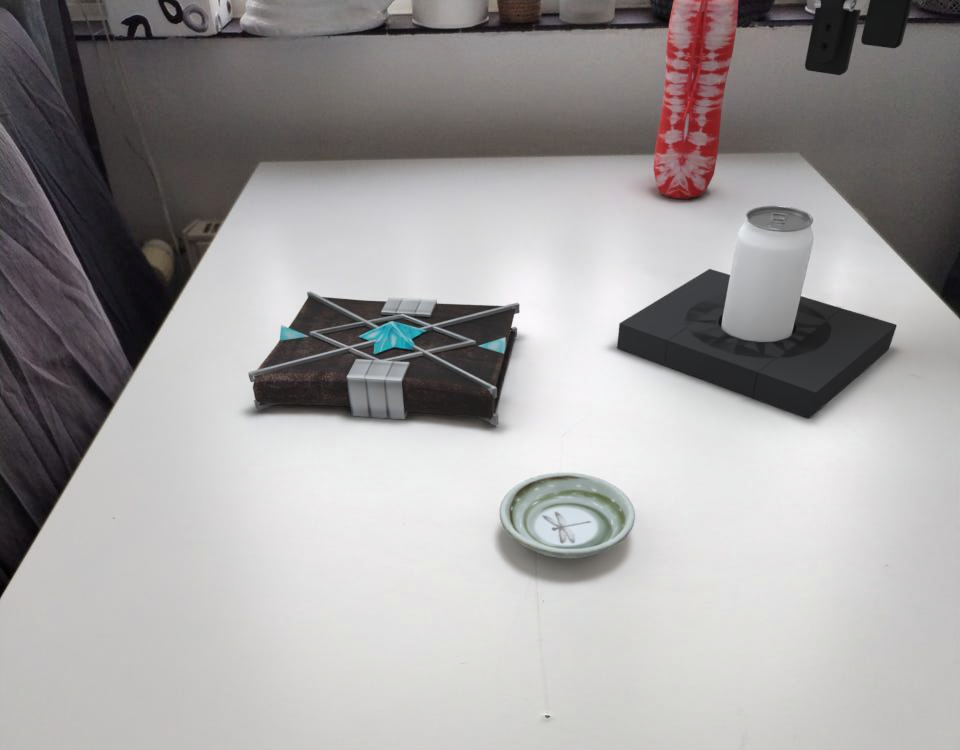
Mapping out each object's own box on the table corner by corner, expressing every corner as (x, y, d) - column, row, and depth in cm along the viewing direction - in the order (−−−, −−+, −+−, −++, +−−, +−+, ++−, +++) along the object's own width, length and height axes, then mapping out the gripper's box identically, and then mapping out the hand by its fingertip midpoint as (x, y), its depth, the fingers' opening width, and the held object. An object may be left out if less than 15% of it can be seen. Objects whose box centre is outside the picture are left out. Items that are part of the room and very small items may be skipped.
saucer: (659, 549, 64) (663, 522, 62) (545, 596, 61) (546, 569, 59) (582, 482, 70) (584, 456, 68) (476, 522, 67) (475, 495, 65)
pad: (889, 349, 84) (897, 324, 82) (808, 418, 76) (816, 392, 74) (705, 292, 94) (709, 268, 92) (616, 347, 86) (619, 323, 84)
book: (254, 411, 79) (242, 359, 75) (310, 325, 90) (302, 276, 87) (497, 428, 76) (497, 374, 72) (522, 337, 88) (523, 286, 84)
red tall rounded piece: (659, 170, 121) (685, -63, 103) (719, 175, 119) (756, -61, 101) (642, 201, 113) (667, -46, 95) (706, 207, 111) (743, -44, 93)
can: (713, 360, 83) (737, 227, 75) (721, 329, 88) (744, 201, 79) (785, 368, 82) (817, 234, 73) (789, 337, 86) (819, 207, 78)
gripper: (927, -247, 51) (850, 90, 64) (1028, -256, 60) (944, 42, 72) (806, -243, 55) (755, 76, 67) (919, -252, 64) (856, 31, 76)
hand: (853, 58), depth 70 cm, fingers open, 9 cm apart
